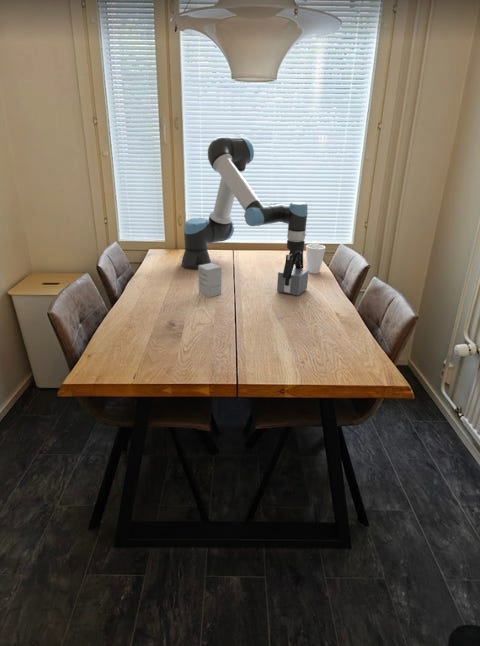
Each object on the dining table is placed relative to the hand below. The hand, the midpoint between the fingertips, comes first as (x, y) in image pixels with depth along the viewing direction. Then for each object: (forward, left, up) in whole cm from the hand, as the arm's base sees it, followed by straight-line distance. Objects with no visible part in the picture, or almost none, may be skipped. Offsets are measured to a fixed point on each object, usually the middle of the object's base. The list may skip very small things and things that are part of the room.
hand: (292, 288), depth 198 cm
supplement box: (-29, -23, -1) cm, 37 cm away
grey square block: (0, 0, -1) cm, 1 cm away
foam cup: (-2, +32, -1) cm, 32 cm away
